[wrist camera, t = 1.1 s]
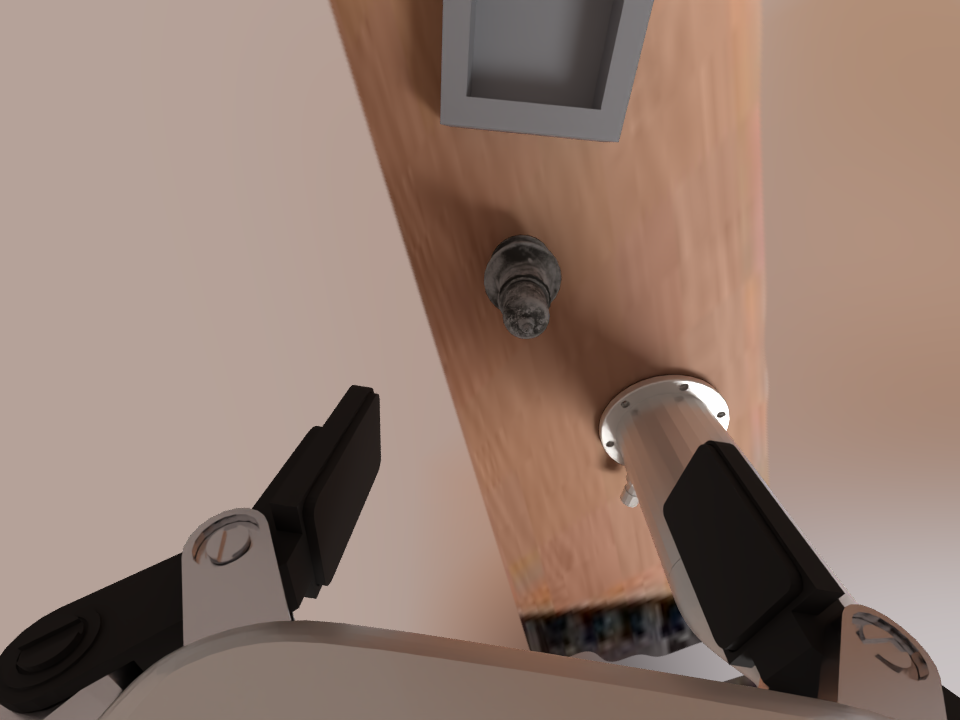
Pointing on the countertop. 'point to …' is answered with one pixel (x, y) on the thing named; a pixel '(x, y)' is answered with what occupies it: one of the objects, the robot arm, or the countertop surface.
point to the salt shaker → (523, 284)
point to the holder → (541, 65)
